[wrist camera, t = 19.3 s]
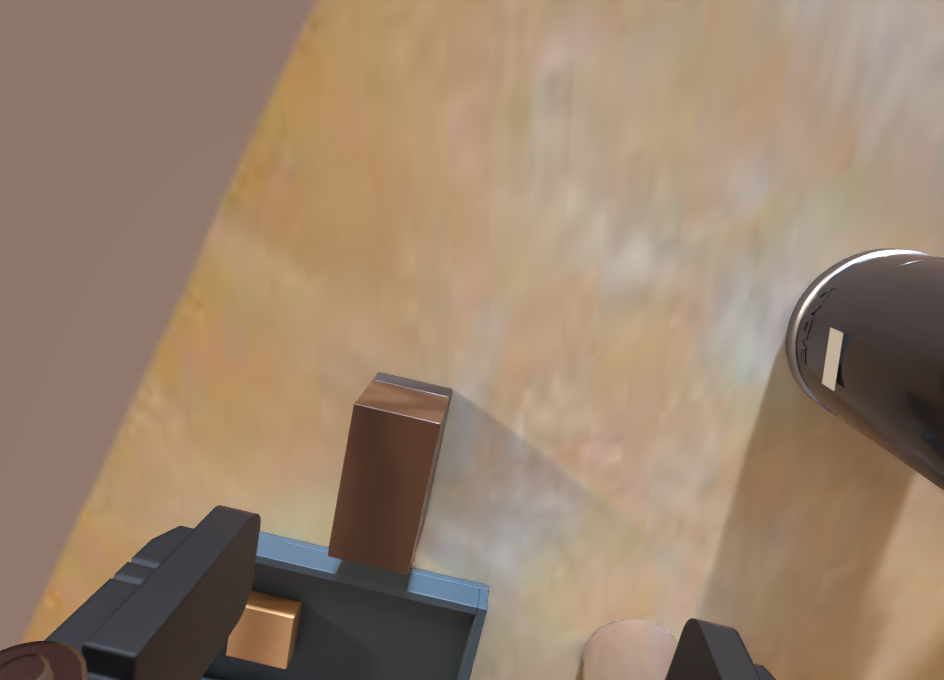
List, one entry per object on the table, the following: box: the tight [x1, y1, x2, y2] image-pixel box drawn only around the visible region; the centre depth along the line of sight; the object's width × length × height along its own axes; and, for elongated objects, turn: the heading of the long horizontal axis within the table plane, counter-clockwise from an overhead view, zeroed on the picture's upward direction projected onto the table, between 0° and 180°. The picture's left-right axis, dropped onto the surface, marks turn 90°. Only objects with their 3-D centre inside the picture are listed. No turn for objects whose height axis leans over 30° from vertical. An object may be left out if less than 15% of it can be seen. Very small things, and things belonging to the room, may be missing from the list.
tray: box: [200, 532, 489, 680], centre depth 39 cm, size 18×12×2 cm
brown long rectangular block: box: [328, 372, 452, 575], centre depth 34 cm, size 4×9×6 cm, turn 168°
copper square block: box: [226, 590, 302, 669], centre depth 39 cm, size 4×4×2 cm
